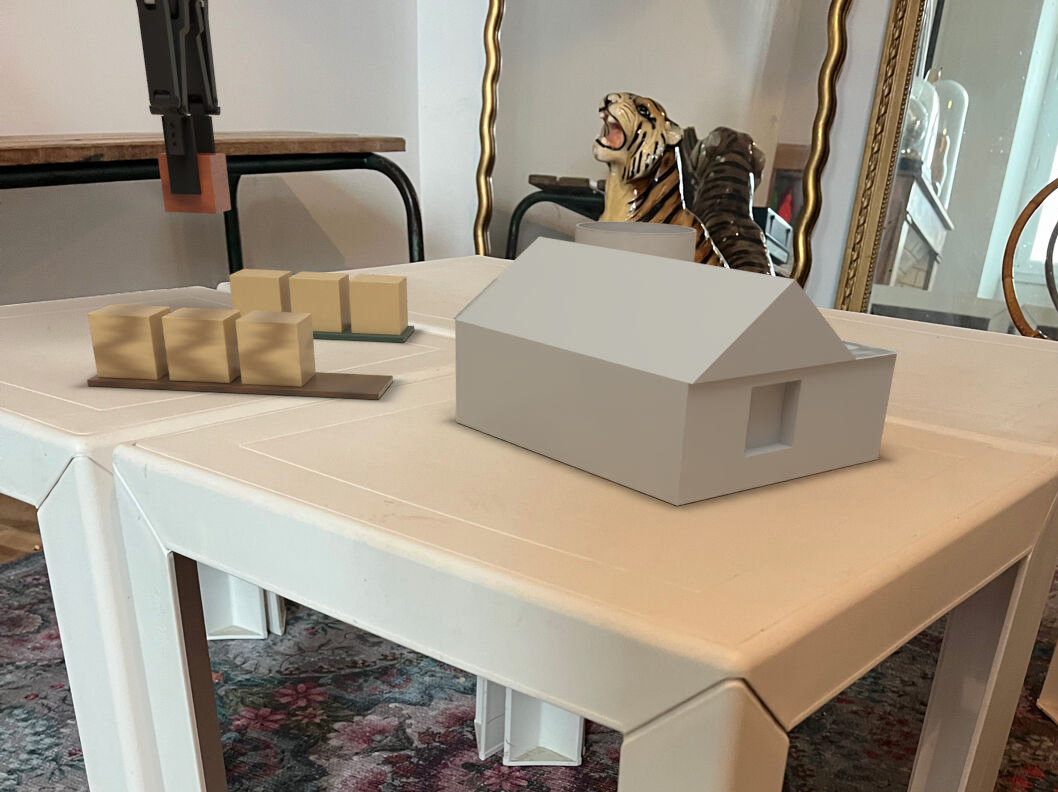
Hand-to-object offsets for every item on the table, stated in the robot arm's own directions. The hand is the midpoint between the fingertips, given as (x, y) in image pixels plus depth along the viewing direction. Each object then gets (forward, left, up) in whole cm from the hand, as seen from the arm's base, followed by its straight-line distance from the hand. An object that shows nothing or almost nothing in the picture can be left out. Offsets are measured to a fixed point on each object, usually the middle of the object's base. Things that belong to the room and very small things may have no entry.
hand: (196, 191), depth 110 cm
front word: (+11, -25, -13) cm, 30 cm away
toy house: (+46, -37, -13) cm, 60 cm away
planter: (+44, +9, -13) cm, 46 cm away
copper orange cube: (0, 0, -2) cm, 2 cm away
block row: (+9, 0, -13) cm, 15 cm away
